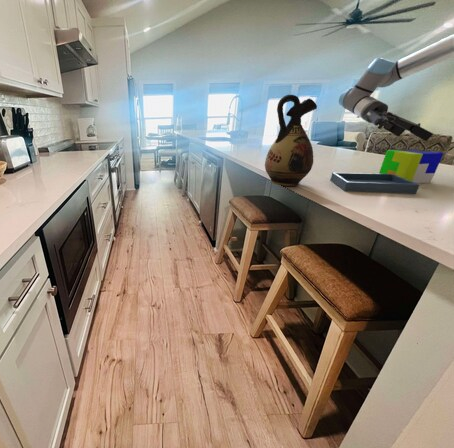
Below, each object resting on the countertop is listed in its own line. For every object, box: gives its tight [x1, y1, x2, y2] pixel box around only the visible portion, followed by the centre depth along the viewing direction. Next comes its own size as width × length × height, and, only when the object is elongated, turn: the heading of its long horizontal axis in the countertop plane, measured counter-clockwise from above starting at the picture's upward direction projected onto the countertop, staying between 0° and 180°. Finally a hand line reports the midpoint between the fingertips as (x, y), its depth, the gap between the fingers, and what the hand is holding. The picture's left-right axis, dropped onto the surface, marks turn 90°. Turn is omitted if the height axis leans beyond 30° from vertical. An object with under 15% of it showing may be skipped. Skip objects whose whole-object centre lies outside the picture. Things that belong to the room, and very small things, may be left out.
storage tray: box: [330, 172, 420, 195], centre depth 82 cm, size 19×15×3 cm
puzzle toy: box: [378, 148, 444, 184], centre depth 87 cm, size 10×10×10 cm
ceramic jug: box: [259, 94, 318, 187], centre depth 85 cm, size 17×15×30 cm
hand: (415, 135), depth 84 cm, fingers open, 13 cm apart
